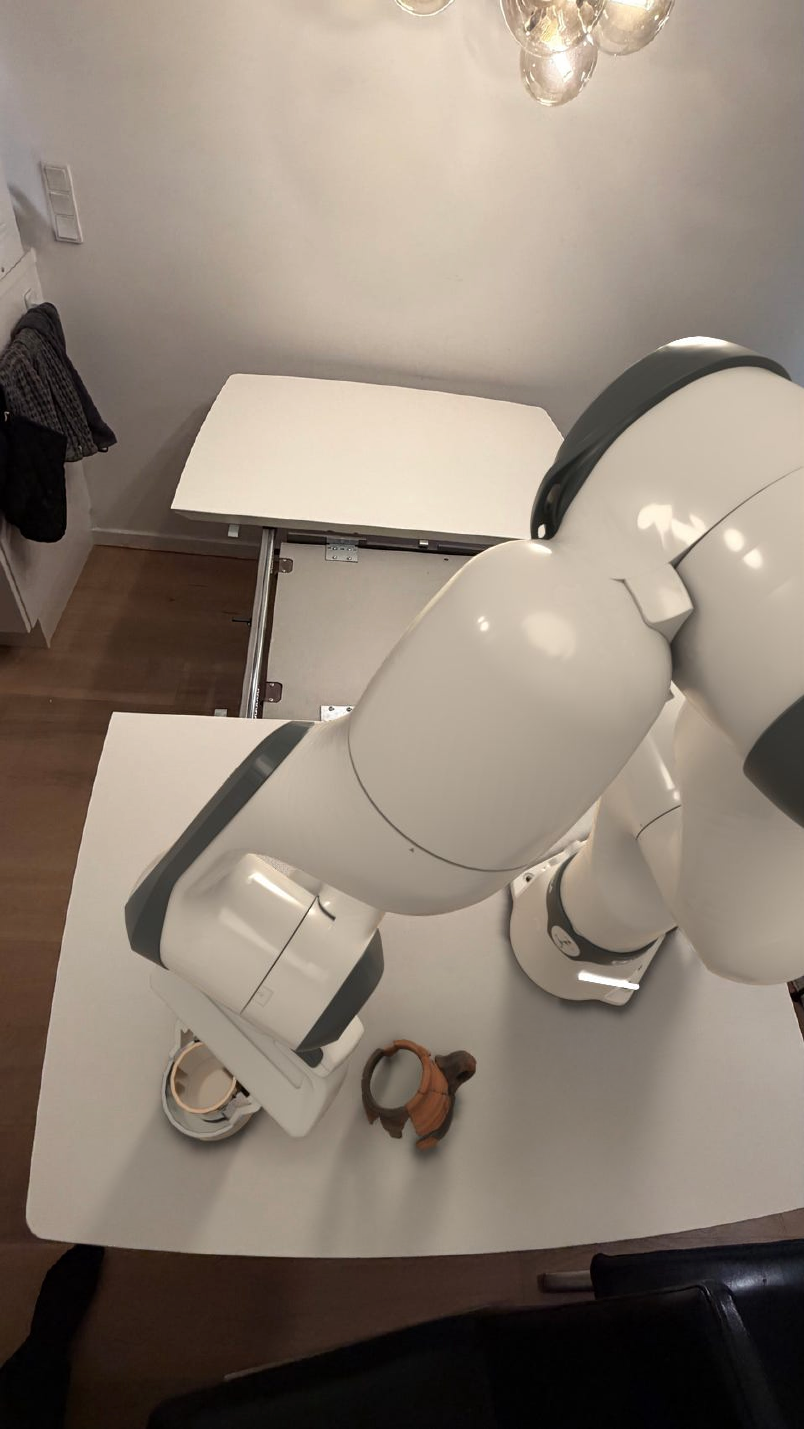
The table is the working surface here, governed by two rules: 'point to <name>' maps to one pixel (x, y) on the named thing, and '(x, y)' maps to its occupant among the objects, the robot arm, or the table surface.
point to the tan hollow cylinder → (202, 1083)
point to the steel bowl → (191, 1123)
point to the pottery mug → (421, 1092)
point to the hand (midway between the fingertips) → (204, 1086)
